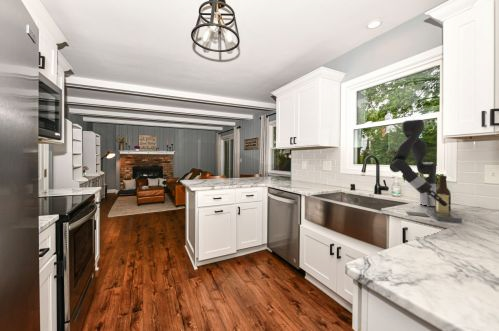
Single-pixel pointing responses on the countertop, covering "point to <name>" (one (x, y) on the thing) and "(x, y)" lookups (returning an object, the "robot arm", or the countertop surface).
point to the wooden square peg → (440, 207)
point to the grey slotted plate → (444, 216)
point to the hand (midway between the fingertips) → (443, 204)
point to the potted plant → (443, 190)
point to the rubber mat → (417, 214)
